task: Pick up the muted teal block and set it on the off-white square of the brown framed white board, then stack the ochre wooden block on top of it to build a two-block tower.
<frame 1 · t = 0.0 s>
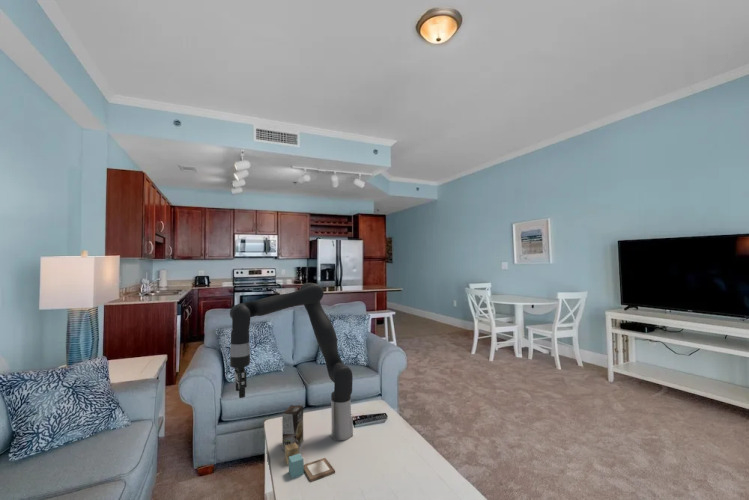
hand: (240, 393, 136), 29 cm above the table, tool pointing down, fingers open, 8 cm apart
teal block: (296, 473, 130), on the table
ochre block: (291, 461, 139), on the table
brown framed white board: (318, 470, 132), on the table
coffee box: (293, 446, 150), on the table
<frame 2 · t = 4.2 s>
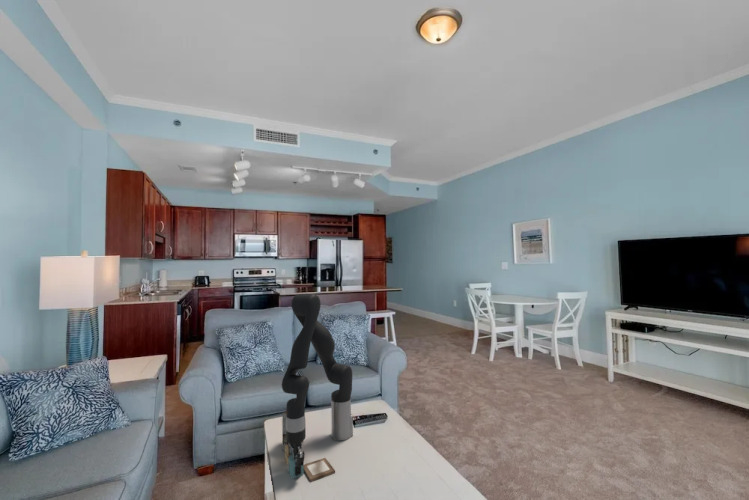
hand: (296, 471, 130), 1 cm above the table, tool pointing down, fingers closed on teal block, 4 cm apart
teal block: (296, 473, 130), on the table, touching gripper
everything else where it was.
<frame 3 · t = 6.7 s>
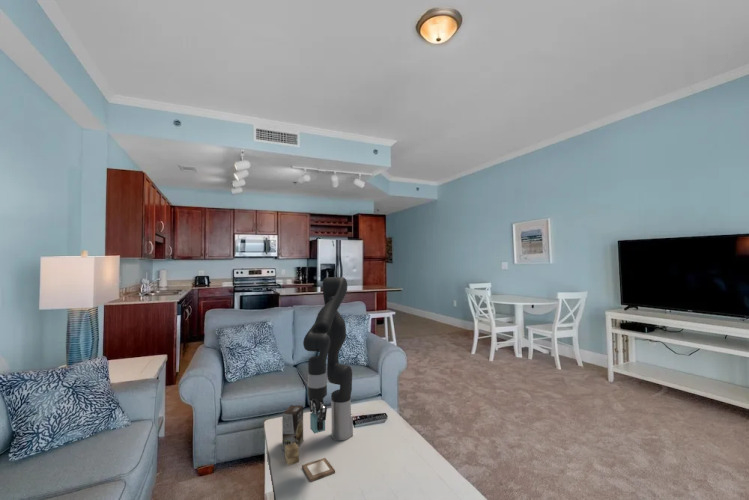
hand: (317, 427, 132), 17 cm above the table, tool pointing down, fingers closed on teal block, 4 cm apart
teal block: (317, 429, 132), point 16 cm above the table, touching gripper
everything else where it was.
when the fingers open (3 cm above the table, at t = 9.5 s): teal block drops 1 cm, resting on brown framed white board.
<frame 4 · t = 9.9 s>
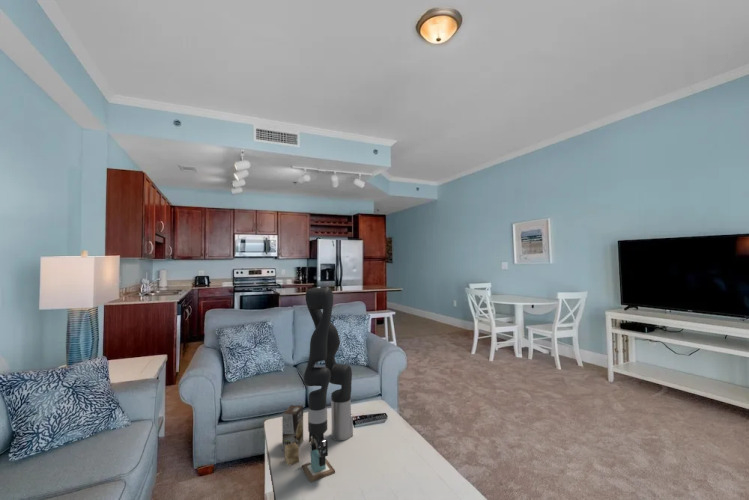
hand: (318, 460, 132), 4 cm above the table, tool pointing down, fingers open, 8 cm apart
teal block: (318, 467, 132), point 1 cm above the table, touching brown framed white board
everything else where it was.
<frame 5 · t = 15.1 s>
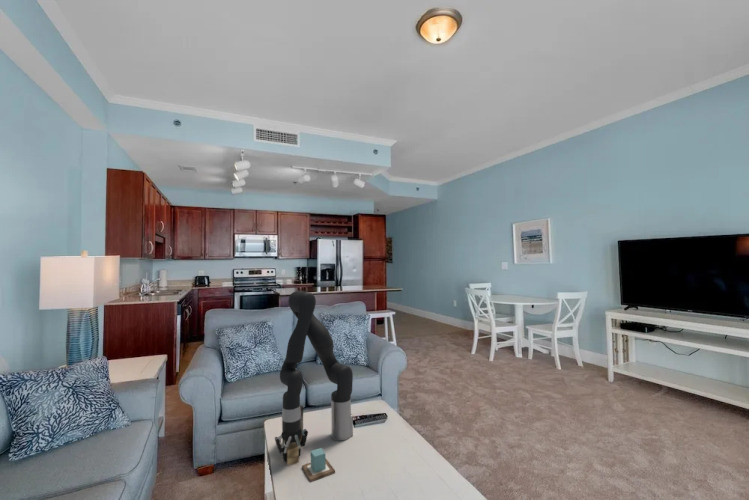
hand: (291, 458, 139), 1 cm above the table, tool pointing down, fingers closed on ochre block, 4 cm apart
ochre block: (291, 460, 139), on the table, touching gripper
everything else where it was.
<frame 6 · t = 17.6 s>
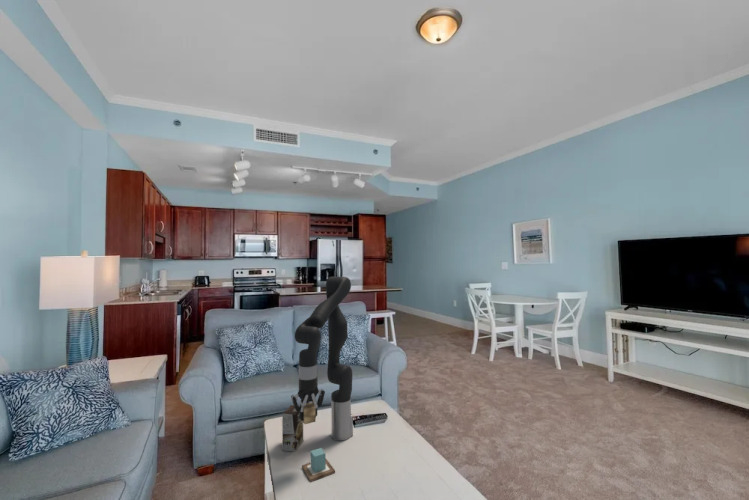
hand: (308, 418, 135), 19 cm above the table, tool pointing down, fingers closed on ochre block, 4 cm apart
ochre block: (308, 420, 135), point 18 cm above the table, touching gripper
everything else where it was.
when the fingers open (9 cm above the table, at t = 20.2 s): ochre block drops 1 cm, resting on teal block.
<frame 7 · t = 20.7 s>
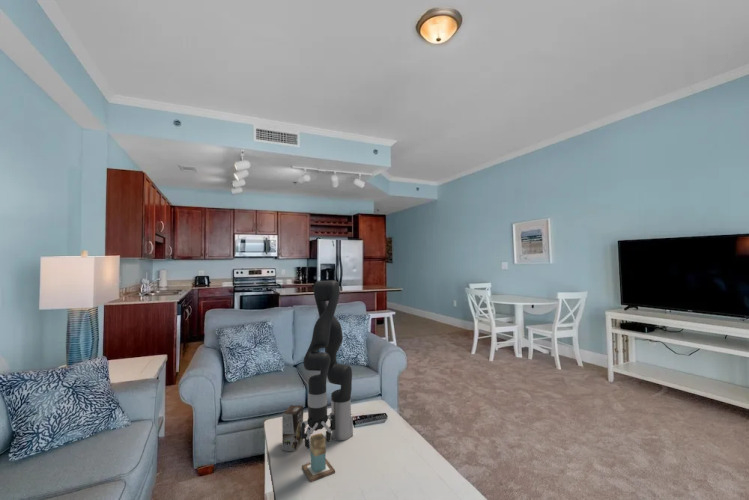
hand: (318, 444, 132), 10 cm above the table, tool pointing down, fingers open, 8 cm apart
teal block: (318, 467, 132), point 1 cm above the table, touching brown framed white board, ochre block
ochre block: (318, 452, 132), point 7 cm above the table, touching teal block
everything else where it was.
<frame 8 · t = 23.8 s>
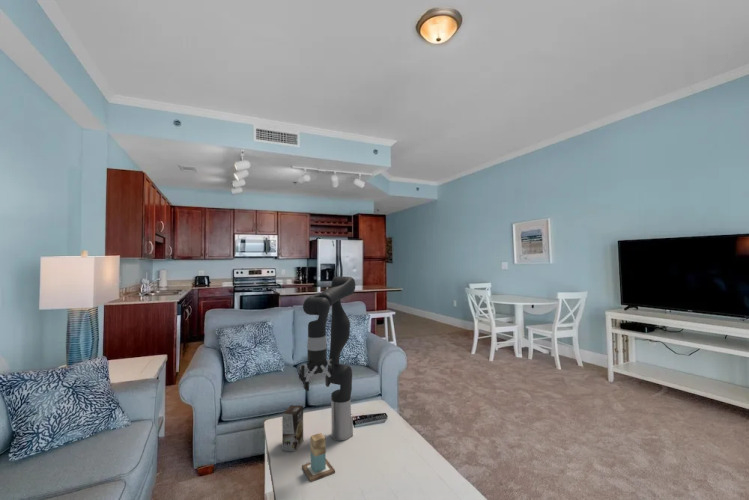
hand: (317, 388, 133), 32 cm above the table, tool pointing down, fingers open, 8 cm apart
nothing on the table moved.
at the end: teal block 0.0 cm off-centre on the brown framed white board, point 1.1 cm above the brown framed white board's base; ochre block 0.0 cm off-centre on the teal block, point 6.0 cm above the teal block's base; ochre block tilted 0° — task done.
